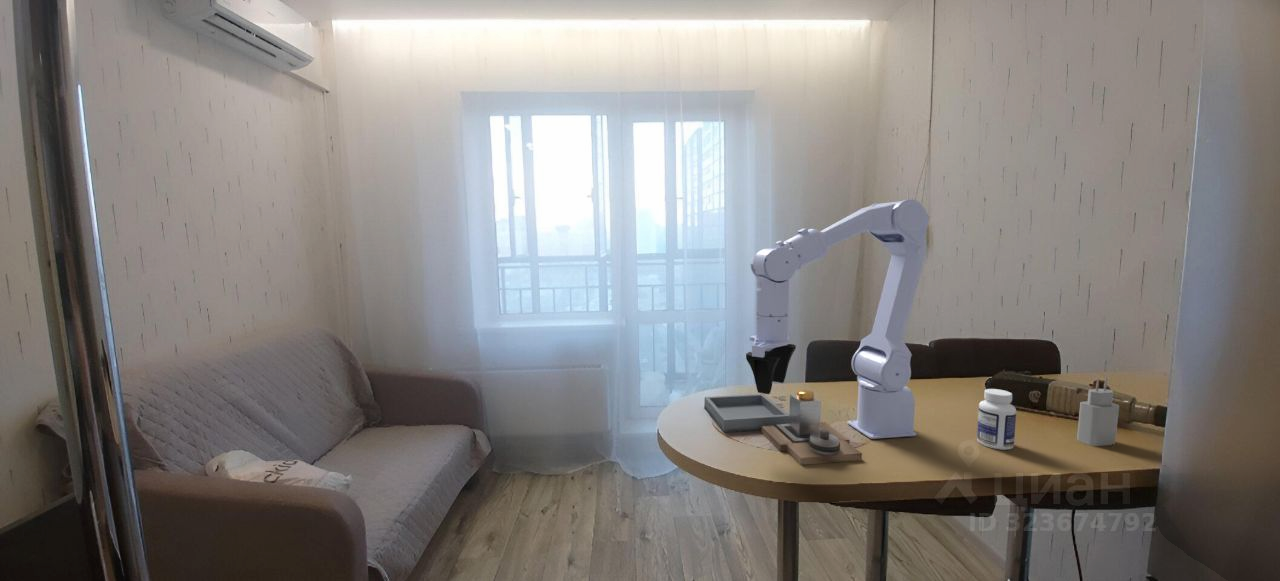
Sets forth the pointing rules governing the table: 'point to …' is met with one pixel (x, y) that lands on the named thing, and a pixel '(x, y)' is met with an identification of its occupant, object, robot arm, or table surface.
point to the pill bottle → (996, 420)
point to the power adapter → (1098, 418)
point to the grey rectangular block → (804, 414)
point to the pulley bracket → (813, 445)
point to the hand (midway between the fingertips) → (771, 387)
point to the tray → (744, 412)
